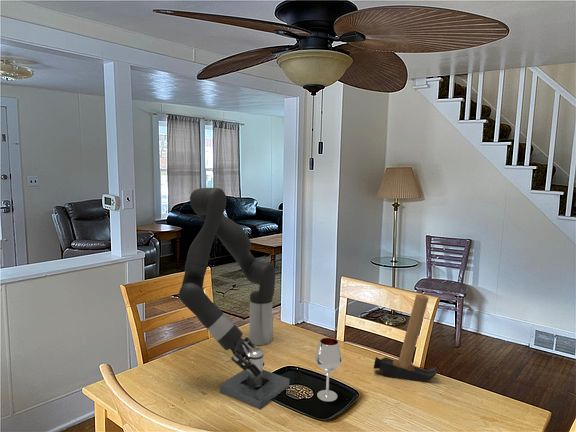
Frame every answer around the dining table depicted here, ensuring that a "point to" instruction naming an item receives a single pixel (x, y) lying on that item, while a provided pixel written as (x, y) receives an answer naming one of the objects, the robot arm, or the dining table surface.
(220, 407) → the dining table surface
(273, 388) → the grey square frame
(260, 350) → the cylinder
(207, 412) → the dining table surface
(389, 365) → the hammer
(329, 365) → the wineglass
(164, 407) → the dining table surface
